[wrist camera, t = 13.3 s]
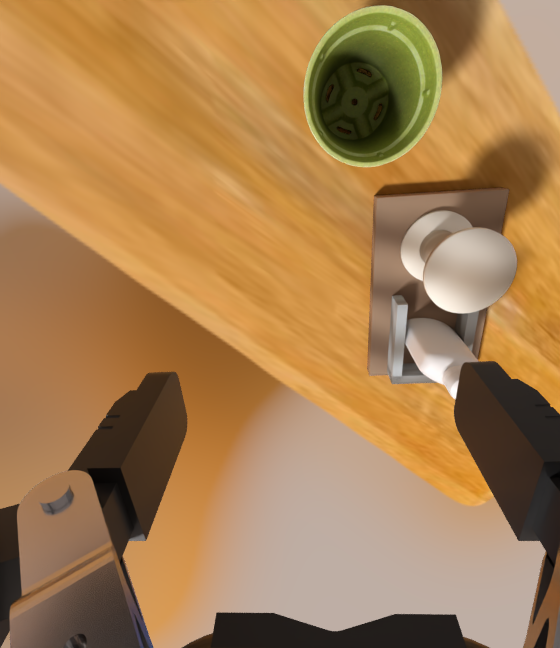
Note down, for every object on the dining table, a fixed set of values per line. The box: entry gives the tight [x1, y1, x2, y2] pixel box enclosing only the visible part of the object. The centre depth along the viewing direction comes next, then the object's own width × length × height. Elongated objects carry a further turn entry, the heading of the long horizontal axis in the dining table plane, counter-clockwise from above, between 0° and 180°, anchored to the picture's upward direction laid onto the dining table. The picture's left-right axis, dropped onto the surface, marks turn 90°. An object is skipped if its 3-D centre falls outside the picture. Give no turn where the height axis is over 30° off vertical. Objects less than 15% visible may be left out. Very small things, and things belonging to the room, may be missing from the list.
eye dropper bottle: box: [405, 318, 479, 399], centre depth 36 cm, size 4×6×12 cm
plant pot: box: [304, 5, 442, 167], centre depth 30 cm, size 9×9×9 cm
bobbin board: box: [367, 187, 517, 384], centre depth 37 cm, size 20×12×10 cm, turn 4°
